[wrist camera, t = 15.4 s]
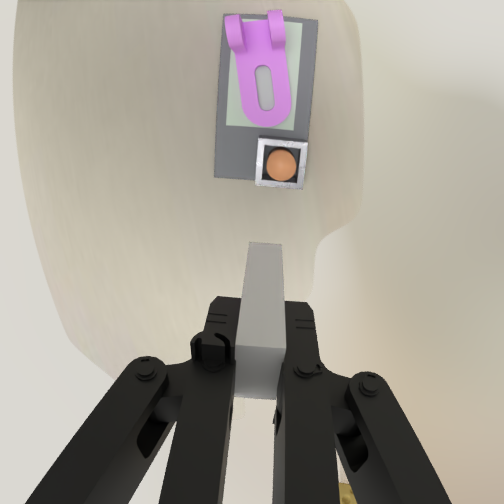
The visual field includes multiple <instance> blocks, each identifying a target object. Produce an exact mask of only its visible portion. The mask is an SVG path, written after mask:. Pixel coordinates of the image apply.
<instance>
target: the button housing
mask: <svg viewBox="0 0 504 504" xmlns="http://www.w3.org/2000/svg"><path fill="white" fill-rule="evenodd" d="M265 145H271V146H282V147H292V148H299V151H298V160H297V169H296V177H293V176H292V177H291V178H290V179H288V180H285V181H278V180H275V179H273V178H272V177H271V176H270V175H269V174H262V172H263V160H264V147H265ZM307 148H308V142H307V141H306V140H305V139H297V138H287V137H277V136H265V135H259V138H258V151H257V164H256V178H255V185H259V186H270V187H281V188H291V189H301V190H303V182H304V174H305V166H306V157H307Z"/></svg>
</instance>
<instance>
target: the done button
mask: <svg viewBox="0 0 504 504" xmlns="http://www.w3.org/2000/svg"><path fill="white" fill-rule="evenodd" d="M267 171H268V174H269V175H270V176H271V177H272V178H273V179H275V180H278V181H285V180H288V179H290V178H291V177H292V176H293V175H294V173H295V171H296V163H295V159H294V156H293V154H292V152H291V151H290V150H289V149H287V148H285V147H276V148H274V149H272V150H271V151H270V152H269V154H268V157H267Z"/></svg>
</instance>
